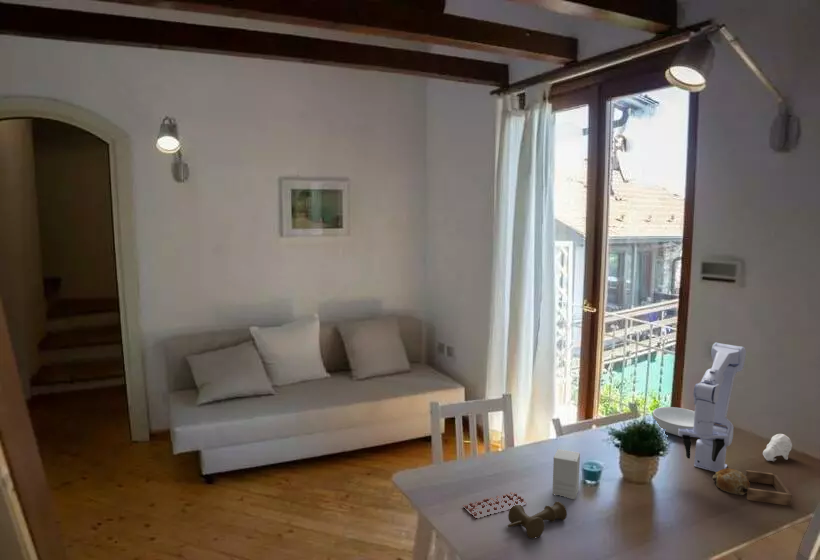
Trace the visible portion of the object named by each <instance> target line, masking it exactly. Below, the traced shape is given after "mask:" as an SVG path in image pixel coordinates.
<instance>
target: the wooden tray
mask: <svg viewBox="0 0 820 560" xmlns="http://www.w3.org/2000/svg"><path fill="white" fill-rule="evenodd" d="M744 475H745V476H746V477H747V479H748V480H749V481H750V482H751V483H757V482H758V483H757V484H765V485H772V486H773V488H774V489H775V490H776V491H775V490H767V489H759V488H752V487H750V488H748V490H747V493H746V499H747V500H748V501H754V502H761V503H767V504H769V503H770V504H776V505H783V506H789V507H791V506H792V498H793V495H792V493H791V492H790V490H789V489H788V488H787V487H786V485H785V484H784V482H783V481H782V480H781V478H780V477H779V476H778V474H776V473H772V472H765V471H758V470H757V471H756V470H750V469H745V474H744Z"/></svg>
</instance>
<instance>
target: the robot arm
mask: <svg viewBox="0 0 820 560" xmlns="http://www.w3.org/2000/svg"><path fill="white" fill-rule="evenodd" d="M710 352H711V353H710V355H711V359H712V366H711V368H708V369H706V370H705V373H704V374H703V376H702V378H701V380H700V382H697V383H695V385H694V387H693V392H692V393H693V405H694V411H695V414H694V427H693V429H678V435H679V437H681V439H682V441H683V444H684V449H685V456H686V458H687V459H691V448H692V447H691V445H692V440H691V438H698V439H697V440H696V443H695V450H694V451H695V453H694V463H693V466H694V467H695V468H700V469H703V470H706V471H710V472H715V473H716V472H718V471H720V470H722V469H728V468H727V467H728V464H727V463H726V457H727V447H729V446H730V445H731V444H732V442H733V438H734V428H735V426H734V425H733V423H732V421H730V419H728V416H727V415H728V411H729V407H730V402H731V397H732V396H731V395H732V392H733V388H734V387H733V386H734V381H735V378H736V375H737V373H739V372H742V371H743V369H744V366H745V361H746V355H747V350H746V348H745V346H739V345H734V344H727V343H726V344H725V343H720V342H717V341H715V342H713V344H712V346H711V351H710ZM678 435H677V436H678Z"/></svg>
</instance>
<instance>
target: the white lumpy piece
mask: <svg viewBox="0 0 820 560" xmlns="http://www.w3.org/2000/svg"><path fill="white" fill-rule="evenodd" d="M765 447H766V448H765V449H763V451H762V455H763V457H764V459H765V460H766V462H770V461H772V462H774V461H776V460H777V458H775V457H780V456H782V457H783V459H784V460H788V459H789V454H790V451H791V450H792V449H793V448H792V447H793V443H792V440H791V439H790V437H789V436H787V435H786V434H783V433H777V434H774V435H773V436H772V437H771V438H770V441H769V443H767V444H766V446H765Z"/></svg>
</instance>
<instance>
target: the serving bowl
mask: <svg viewBox="0 0 820 560" xmlns="http://www.w3.org/2000/svg"><path fill="white" fill-rule="evenodd" d="M694 414H695V410H691V409H687V408H682V407H676V406H675V407H674V406H662V407H658V408H655V409H653V411H652V419H653V420H654V419H655V420H656V421H657V423H658V424H659V426H660V427H661V428H663V429H666V431H665V432H666V433H668V434H671V435H674V436H679V435H678V429H693V427H694ZM660 427H659V428H660ZM661 428H660V429H661ZM679 437H680V436H679Z"/></svg>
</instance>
